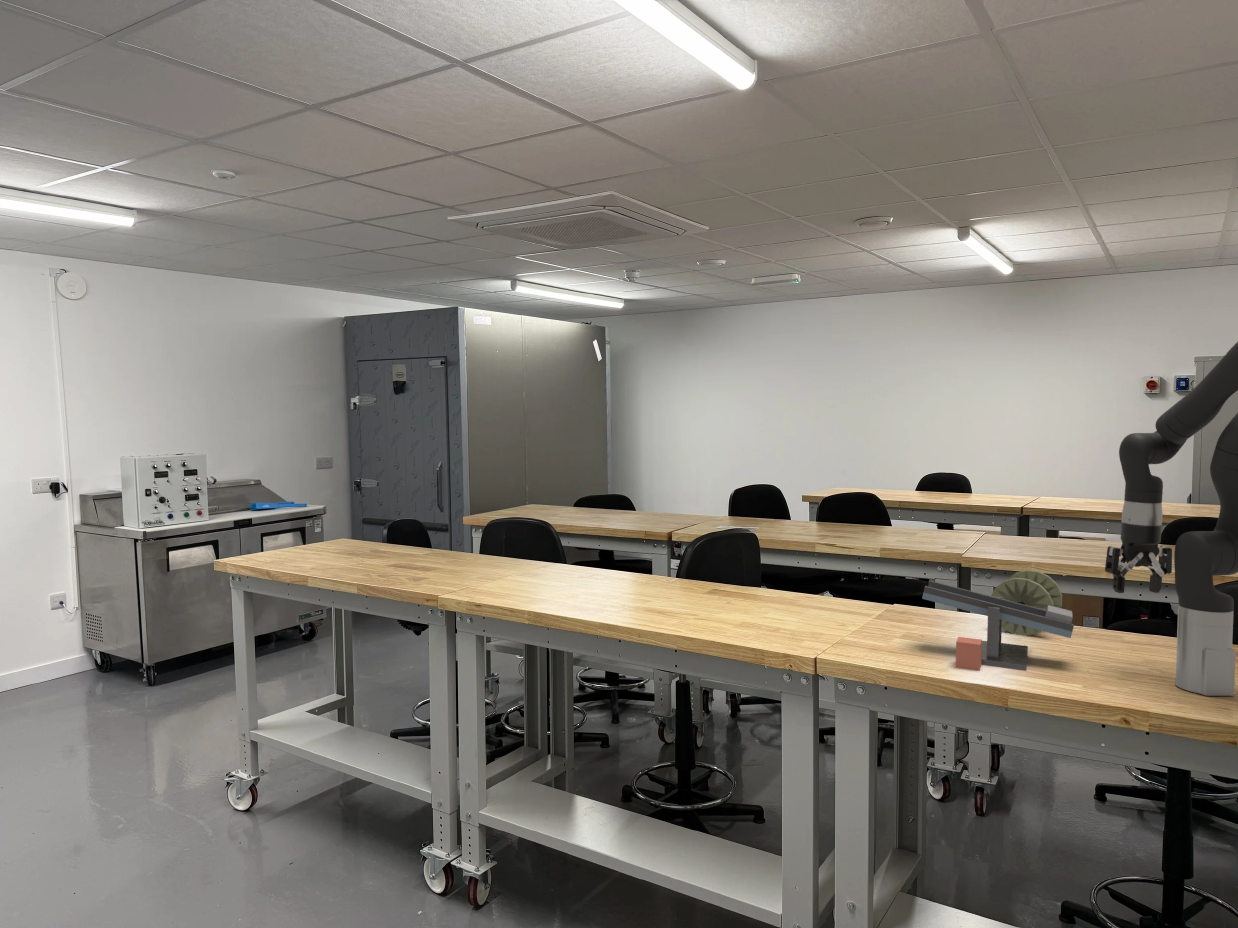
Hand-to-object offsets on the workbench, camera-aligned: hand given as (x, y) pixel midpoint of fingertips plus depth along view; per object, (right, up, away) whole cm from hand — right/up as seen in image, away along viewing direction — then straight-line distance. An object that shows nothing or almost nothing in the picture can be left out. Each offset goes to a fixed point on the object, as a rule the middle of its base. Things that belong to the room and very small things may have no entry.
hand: (1136, 592), depth 175 cm
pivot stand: (-27, -17, +10) cm, 34 cm away
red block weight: (-37, -17, +2) cm, 41 cm away
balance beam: (-27, -6, +10) cm, 30 cm away
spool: (-6, -16, +37) cm, 41 cm away
